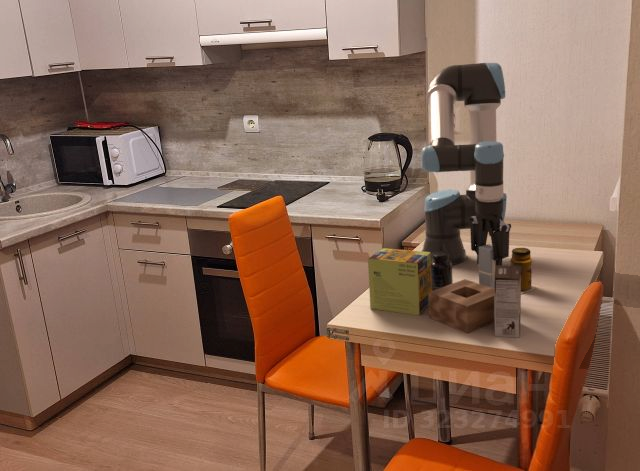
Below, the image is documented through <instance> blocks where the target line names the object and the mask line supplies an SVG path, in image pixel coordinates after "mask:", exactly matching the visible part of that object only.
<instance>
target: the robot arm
mask: <svg viewBox="0 0 640 471" xmlns="http://www.w3.org/2000/svg"><path fill="white" fill-rule="evenodd" d="M505 84H506V83H505V78H504V73H503V69H502V66H501V65H500V64H499V63H497V62H481V63H468V64H455V65H454V64H453V65H449V66H447V67H444V68H443V69H441V70H440V71H438V73H437V74H435V75H434V76H433V78H432V79H431V80H430V82H429V84H428V85H427V88H426V92H425V95H426V97H425V100H426V104H427V105H428V106H429V107H428V116H429V117H428V118H429V120H428V121H429V122H428V145H427V146H423V147H422V149H421V165H422V167H421V168H422V170H423V171H424V172H426V173H446V172H447V173H449V172H469V171H470V172H469V173H470V174H469V175H470V176H469V177H470V184H469V185H468V187H466V189H465V194H461V193H460V191H459V189H458V190H457V189H444V190H438V191H436V192H435V191H434V192H432V193H430V194H429V195H427V196H426V197H425V199H424V209H423V211H424V217H425V218H424V219H425V220H424V224H425V225H424V226H425V227H424V228H425V239H424V243H423V247H422V250H421V251H422V252H431V253H430V254H431V262H432V261H433V260H432V253H433V252H436V251H445V252H447V253H448V257H449V259H448V261H450V262H451V264H452V265H457V264H460V263H462V262H465V260H466V258H467V252H466V249H465V248H464V244H463V241H462V238H461V230H470V250H471V251H472V252H475V253H476V263H477V265H479V247H480V246H483V245H486V244H487V240H488V236H489V237H490V241H491V244H492V246H493V252H494V258H493V259H492V281H494V280H495V278H494V277H495V266H497V265H503V260H504V259H506V258H509V257H510V231H511V229H512V224H511V223H506V222H505V217H506V211H507V210H506V209H507V198H508V196H507V193H505V192H504V157H505V154H504V146H503V143H502V142H499V141H497V110H498V109H499V107H500V106H501V104H502V103H501V100H503V99H505V98H506V86H505ZM456 102H464V106H463V107H464V108H465V109H466V110H467V111H468V112H469V114H468V115H469V116H468V117H469V122H468V124H469V144H456V143H455V114H454V113H455V112H454V111H455V110H454V105H455V103H456Z"/></svg>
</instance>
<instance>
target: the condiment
mask: <svg viewBox="0 0 640 471" xmlns="http://www.w3.org/2000/svg"><path fill="white" fill-rule="evenodd" d="M531 257H532V256H531V250H530V249H529V248H526V247H515V248H513V249H512V250H511V258H510V265H509V266H520V268H521V295H523V294H525V293H527V292H531V291H534V290H536V289H538V288H539V287H537V286H534V285H532V277H533V276H532V273H533V272H532V270H533V269H532V265H533V264H532V262H533V261H532V258H531Z"/></svg>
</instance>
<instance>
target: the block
mask: <svg viewBox="0 0 640 471" xmlns="http://www.w3.org/2000/svg"><path fill="white" fill-rule="evenodd" d="M428 309H429V310H428V311H429V312H428V313H429V319H432V320H434V321H436V322H438V323H441V324H444V325H446V326H448V327H451V328H453V329H456V330H459V331H461V332H463V333H466V334H469V333H472V332H474V331H475V330H479V329H480V328H483V327H486V326H488V325H490V324H493V323H495V306H494V288H491V287H488V286H484V285H481V284H479V282H475V281H472V280H468V279H465V278H464V279H461V280H459V281H456V282H453V284H450V285H447V286H445V287H442V288H439V289H436V290H434V291H431V292H429V306H428Z"/></svg>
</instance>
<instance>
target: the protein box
mask: <svg viewBox="0 0 640 471" xmlns="http://www.w3.org/2000/svg"><path fill="white" fill-rule="evenodd" d="M430 253H431V252H422V250H420V251H419V250H412V249H411V250H408V249H395V248H384V247H383V248H381V249H380V250H378V251H377V252H376V253H374V254H372V255H371V256H369V258H368V259H367V268H368V286H369V287H368V288H369V289H368V290H369V302H370V303H369V307H370V308H369V309H371V310H378V311H385V312H390V313H391V312H392V313H398V314H406V315H413V316H420V315H421V314H423V312H424V311H425V310H426V309H427V308H429V292H431V291H432V284H431V254H430Z"/></svg>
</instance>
